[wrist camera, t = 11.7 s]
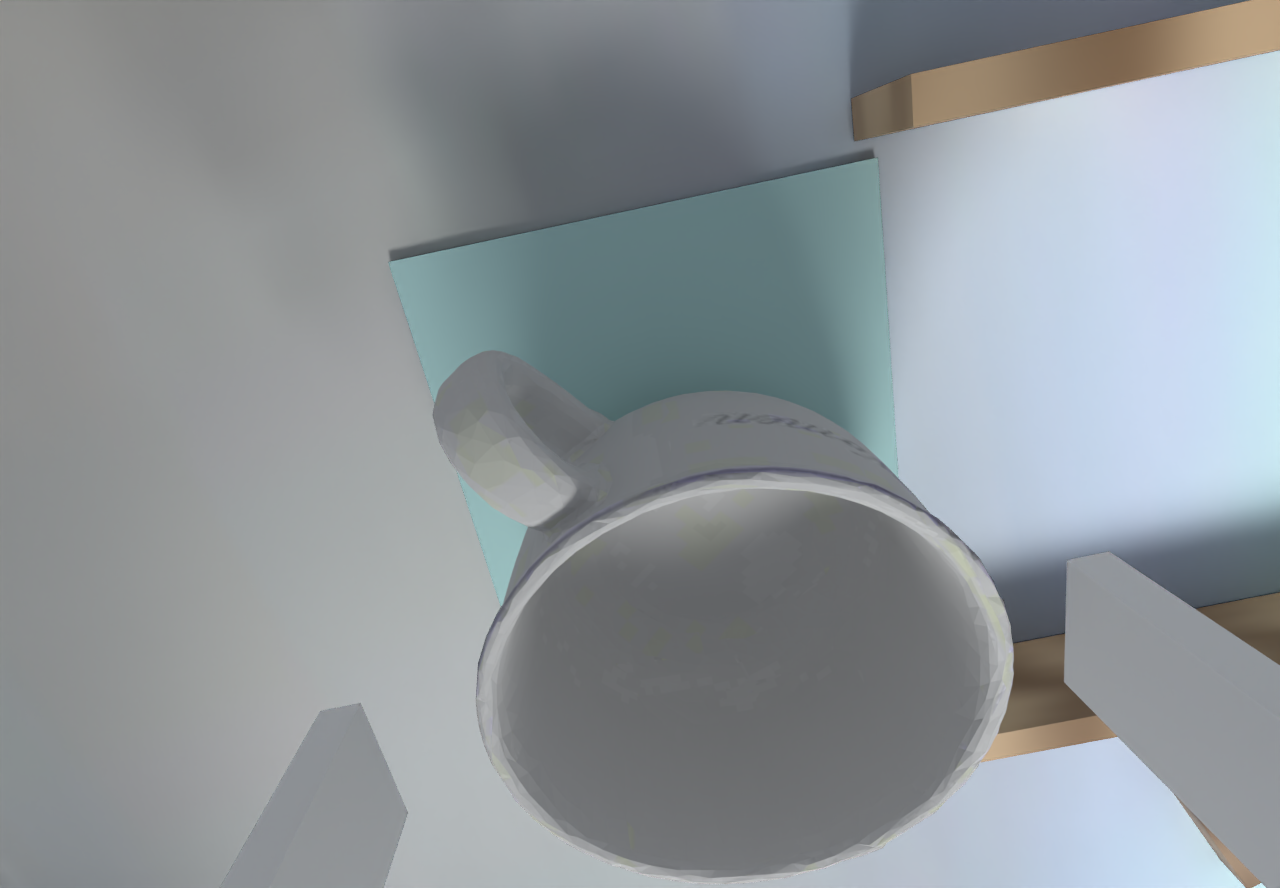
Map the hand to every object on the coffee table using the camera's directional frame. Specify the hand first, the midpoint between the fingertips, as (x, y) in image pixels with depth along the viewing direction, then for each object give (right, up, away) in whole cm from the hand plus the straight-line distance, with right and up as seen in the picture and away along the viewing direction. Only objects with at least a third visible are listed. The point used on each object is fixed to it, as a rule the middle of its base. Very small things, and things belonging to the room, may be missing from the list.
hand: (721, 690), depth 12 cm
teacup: (-1, +3, +8) cm, 9 cm away
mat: (0, +3, +8) cm, 9 cm away
